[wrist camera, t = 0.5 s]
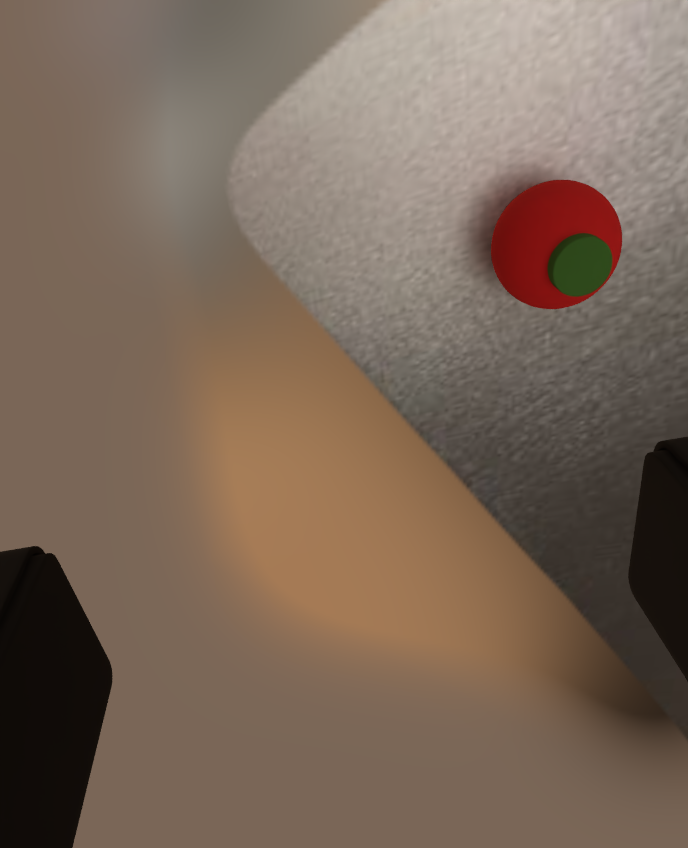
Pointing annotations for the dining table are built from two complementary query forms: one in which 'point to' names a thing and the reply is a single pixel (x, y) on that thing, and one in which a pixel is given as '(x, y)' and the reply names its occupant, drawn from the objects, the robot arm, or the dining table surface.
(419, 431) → the dining table surface
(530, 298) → the cherry tomato
